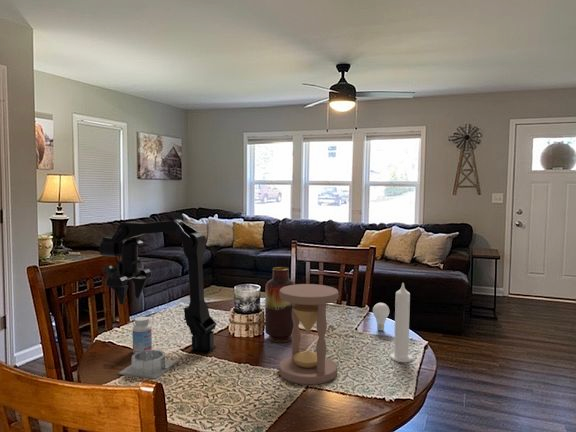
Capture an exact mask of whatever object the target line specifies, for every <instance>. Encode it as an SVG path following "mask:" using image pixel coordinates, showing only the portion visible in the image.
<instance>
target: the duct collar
mask: <svg viewBox="0 0 576 432" xmlns="http://www.w3.org/2000/svg"><path fill="white" fill-rule="evenodd" d="M176 364H177V361H176V360H168V359H167V360H166V352H165V351H163V350H161V349H152V350H144V351H140V352H137V353H133V354H132V355H131V364H130V365H128V366H127V367H125V368H124V369H122V370H121V371H119V372H118V375H121V376H128V377H129V376H130V377H138V378H144V379H152V380H157V379H158V378H160V377H161V376H162V375H163V374H164V373H165V372H167V371H168V370H170V369H171V368H172V367H174V366H175V365H176Z"/></svg>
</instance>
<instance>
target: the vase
mask: <svg viewBox="0 0 576 432" xmlns="http://www.w3.org/2000/svg"><path fill="white" fill-rule="evenodd" d="M289 271H290V269H289V267H285V266H275V267H272V279H270V280H268V281H267V283H265V293H264V295H265V297H264V298H265V301H264V303H265V304H264V305H265V307H264V308H265V313H264V315H265V316H264V319H265V322H264V323H265V324H264V327H265V328H264V329H265V330H264V331H265V334H266V335H268V337H267V340H268V341H269V342H271V343H275V344H285V343H289V342H292V339H291V333H292V330H293V326H294V324H293V320H292V307H293V303H290V302H286V301H284V300H282V299H280V289H281V288H283V287H285V286H289V285H296V283H295V282H294V281H293V280H292V279H290V272H289Z"/></svg>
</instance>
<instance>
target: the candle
mask: <svg viewBox="0 0 576 432" xmlns="http://www.w3.org/2000/svg"><path fill="white" fill-rule="evenodd" d="M394 302H395V303H394V307H395V308H394V309H395V311H394V340H393V341H394V345H393V346H394V348H393V353H390V354H389V358H390V359H391V360H392V361H394V362H398V363H409V362H412V361H413V356H412V355H411V354H409V346H410V345H409V342H410V341H409V340H410V339H409V338H410V312H411V311H410V310H411V309H410V307H411V306H410V305H411V303H410V302H411V293H410V292H409V291H408V290H407V289H406V287H405V283H404V282H402V283H401V287H400V289H398V290H397V291H396V292H395V300H394Z"/></svg>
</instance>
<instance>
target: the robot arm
mask: <svg viewBox="0 0 576 432" xmlns="http://www.w3.org/2000/svg"><path fill="white" fill-rule="evenodd" d="M116 229H117V230H116V231H115V233H114V234H113V235H112V237H111V236H106V237H102V241H101V242H100V244H99V247H98V253H99V254H100V255H101V256H102V257H113V258H114V257H117V258H118V257H120V260H118V261H117V264H116V265H113V266H112V264H108V265H104V267H103V274H104V275H105V276H107V278H106V279H105V286H107V287H108V288H111V289H112V290H113V291H114V293H115V294H116V297H117V299H118V302H119V304H120V305H124V304H125V300H126V296H127V292H128V288H129V285H128V283H129V281H130V280H131V281H132V282H133V285H134V295H135V298H136V299H139V298H140V297H141V295H142V293H143V290H144V288H145V287H146V284H147V282H148V281H149V280H150V277H152V271H151V269H150V268H139V263H141V259H139V246H142V245H144V242H143V241H142V240H141V239H140V238H139V237H140V236H143V235H146V234H157V233H168V232H172V233H173V235H174V236H175V238H176V240H177V241H178V242H179V243H181V245H182V248H183V249H182V250H183V253H184V255H185V257H186V259H187V265H188V267H187V268H188V269H187V270H188V286H189V289H188V290H189V304H188V305H187V306H185V307H184V308H183V313H184V318H183V321H185V324H186V326H187V327H188V328H189V331H190V333H191V348H192V349H191V350H190V352H191V353H197V354H210V353H211V352H212V351H214V349H216V347H217V346H216V345H214V343H215V334H214V333H215V332H214V330H215V329H216V325H217V322H216V321H215V320H214V319H213V318H212V317H211V316H210V311H209V306H208V304H207V303H206V301H205V293H204V292H205V291H204V269H203V258H204V255H205V252H206V245H207V238H206V236H205V235H204V233H202V232H199V231H197V230H196V229H195V228H194V227H192V226H190V225H189V224H187V223H185V222H184V221H183V220H182V219H180V218H177V219H171V220H165V221H163V220H162V221H154V222H143V221H135V220H134V221H133V220H132V221H125V222H124V221H123V222H120V223H119V225H118V226H117V228H116ZM132 238H133V239H132Z"/></svg>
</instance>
